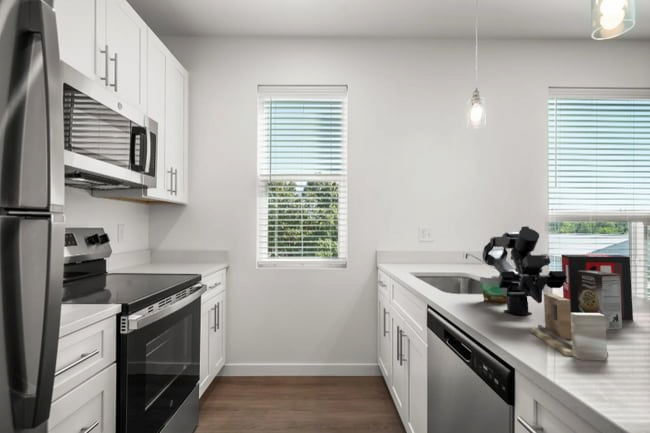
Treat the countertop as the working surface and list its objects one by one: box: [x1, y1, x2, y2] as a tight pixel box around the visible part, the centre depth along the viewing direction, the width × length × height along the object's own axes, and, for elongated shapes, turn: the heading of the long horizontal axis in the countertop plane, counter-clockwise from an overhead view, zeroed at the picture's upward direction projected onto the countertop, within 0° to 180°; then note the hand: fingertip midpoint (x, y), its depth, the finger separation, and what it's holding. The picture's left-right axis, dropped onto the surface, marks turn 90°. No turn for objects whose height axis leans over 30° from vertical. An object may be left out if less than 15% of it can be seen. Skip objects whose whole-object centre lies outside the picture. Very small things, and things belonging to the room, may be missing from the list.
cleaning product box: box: [561, 254, 634, 322], centre depth 121 cm, size 16×9×20 cm, turn 70°
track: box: [530, 313, 609, 361], centre depth 92 cm, size 22×9×10 cm, turn 171°
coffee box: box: [577, 270, 623, 331], centre depth 109 cm, size 9×6×16 cm
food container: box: [479, 276, 507, 305], centre depth 144 cm, size 12×6×10 cm, turn 81°
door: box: [543, 293, 572, 339], centre depth 97 cm, size 9×3×10 cm, turn 171°
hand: (540, 302), depth 108 cm, fingers closed
